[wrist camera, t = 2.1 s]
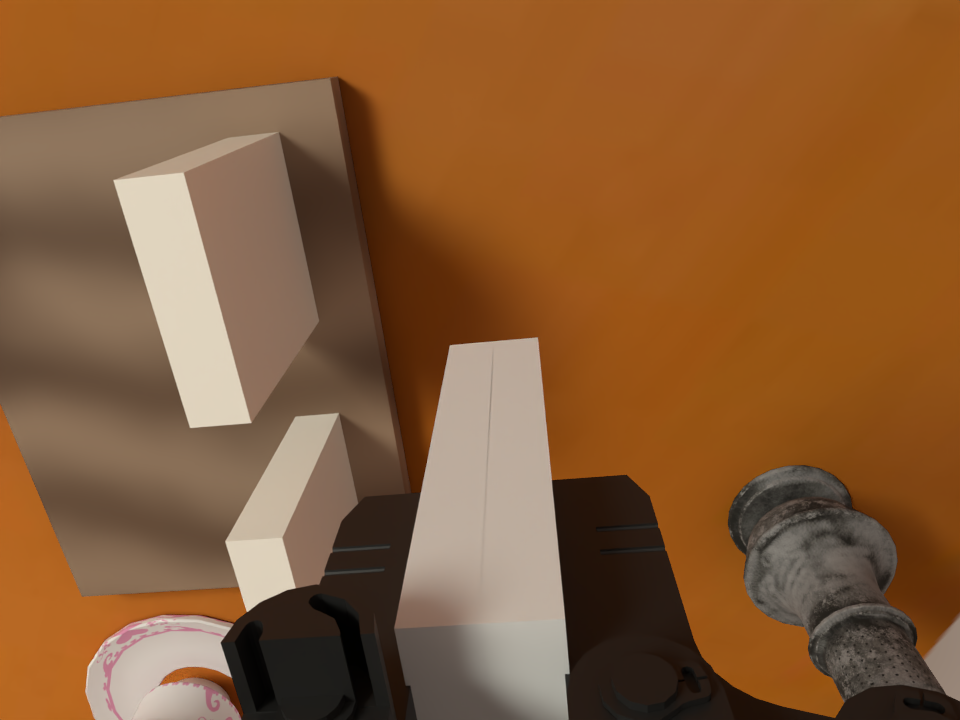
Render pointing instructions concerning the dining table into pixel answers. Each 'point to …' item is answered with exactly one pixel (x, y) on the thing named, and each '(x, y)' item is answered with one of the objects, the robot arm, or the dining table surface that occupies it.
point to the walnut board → (139, 345)
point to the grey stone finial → (827, 578)
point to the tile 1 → (223, 272)
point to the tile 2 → (294, 511)
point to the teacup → (160, 671)
